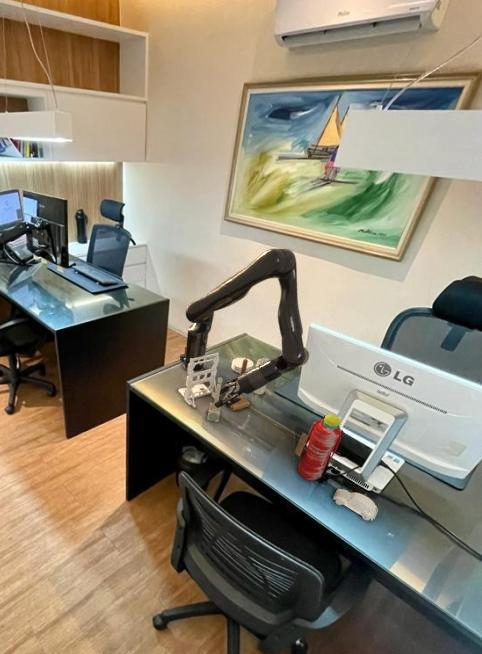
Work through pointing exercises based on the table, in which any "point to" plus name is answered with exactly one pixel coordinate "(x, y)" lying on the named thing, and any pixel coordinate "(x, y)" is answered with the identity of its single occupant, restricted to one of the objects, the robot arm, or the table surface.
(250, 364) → the white ribbed cylinder
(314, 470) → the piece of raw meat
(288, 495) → the table surface
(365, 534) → the table surface
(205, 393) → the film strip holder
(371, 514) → the car
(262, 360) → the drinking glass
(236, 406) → the stand
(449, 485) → the table surface
